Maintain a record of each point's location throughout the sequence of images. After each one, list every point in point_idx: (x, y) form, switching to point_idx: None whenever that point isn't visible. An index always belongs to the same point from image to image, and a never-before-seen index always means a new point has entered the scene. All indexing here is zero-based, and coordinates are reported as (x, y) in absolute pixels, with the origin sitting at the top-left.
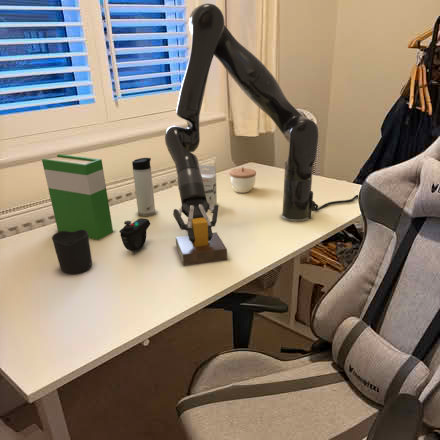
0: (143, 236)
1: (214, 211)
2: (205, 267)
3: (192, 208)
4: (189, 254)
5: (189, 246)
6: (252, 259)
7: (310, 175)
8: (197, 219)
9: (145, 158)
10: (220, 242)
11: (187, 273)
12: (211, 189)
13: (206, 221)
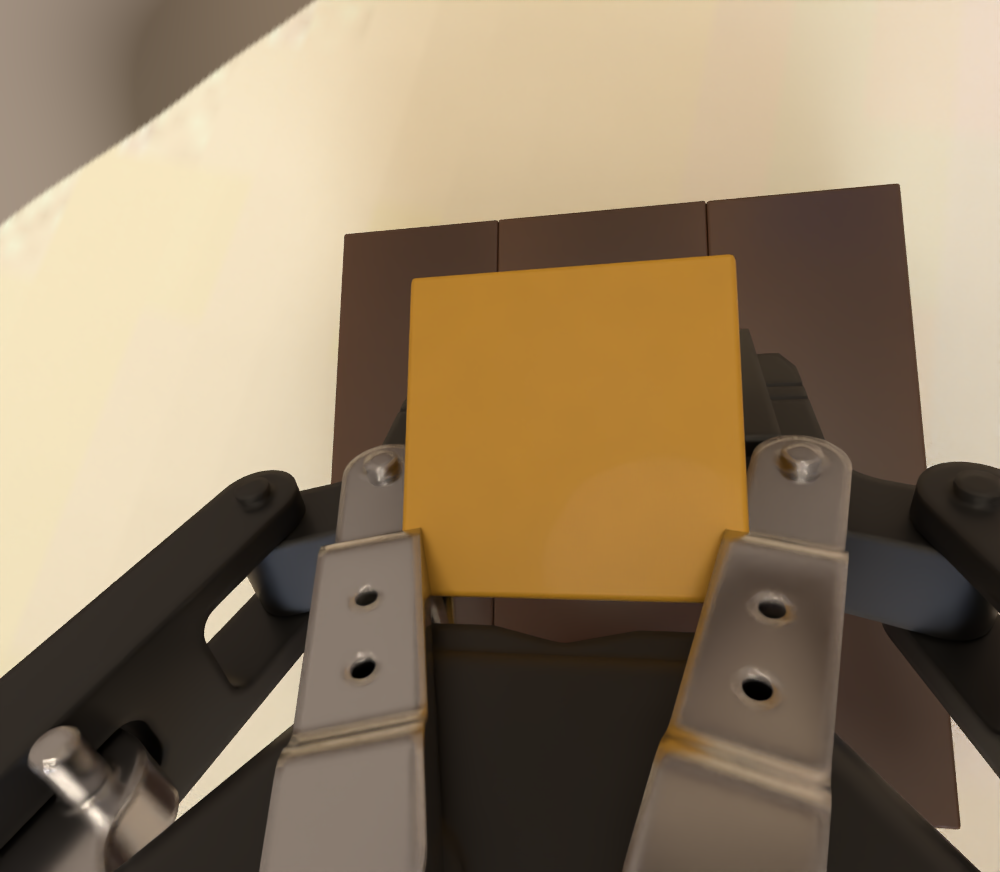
0: None
1: (86, 677)
2: (627, 177)
3: (702, 822)
4: (802, 196)
5: None
6: (191, 250)
7: None
8: (597, 501)
9: None
10: (359, 420)
11: (829, 87)
12: None
13: (422, 320)
